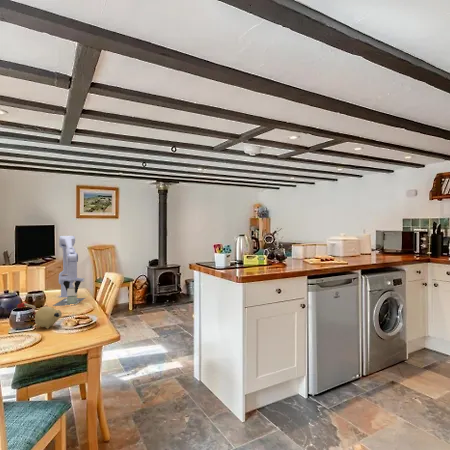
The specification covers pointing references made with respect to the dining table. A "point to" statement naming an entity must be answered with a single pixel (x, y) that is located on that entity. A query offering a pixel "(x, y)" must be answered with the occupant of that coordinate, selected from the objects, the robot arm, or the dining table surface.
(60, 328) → the dining table surface
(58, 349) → the dining table surface
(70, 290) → the top block
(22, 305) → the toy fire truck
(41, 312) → the toy pig
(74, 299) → the base block
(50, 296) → the dining table surface
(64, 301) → the mat
